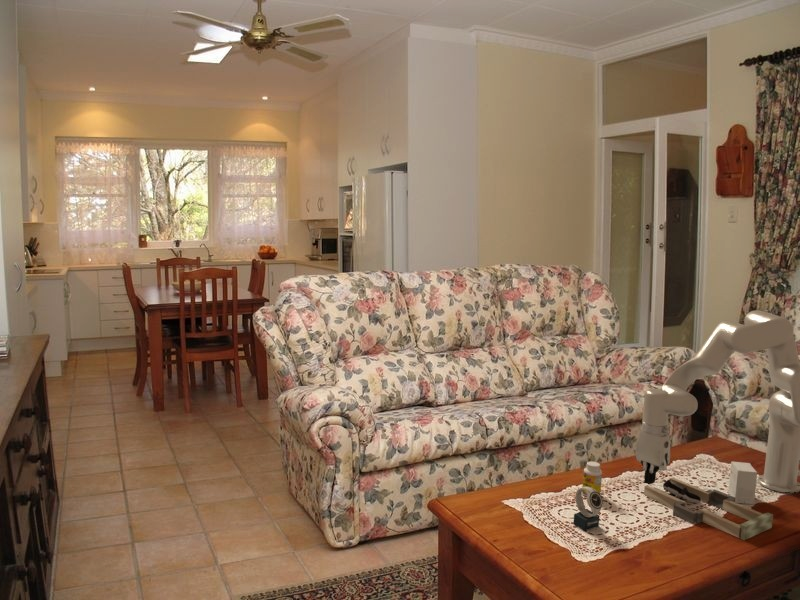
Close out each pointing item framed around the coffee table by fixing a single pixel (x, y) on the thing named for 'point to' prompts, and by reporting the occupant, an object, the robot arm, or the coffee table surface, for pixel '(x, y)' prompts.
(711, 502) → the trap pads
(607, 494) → the coffee table surface
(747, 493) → the small box
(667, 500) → the channel
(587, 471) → the supplement bottle
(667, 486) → the gaming controller
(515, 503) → the coffee table surface
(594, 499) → the watch
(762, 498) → the coffee table surface
